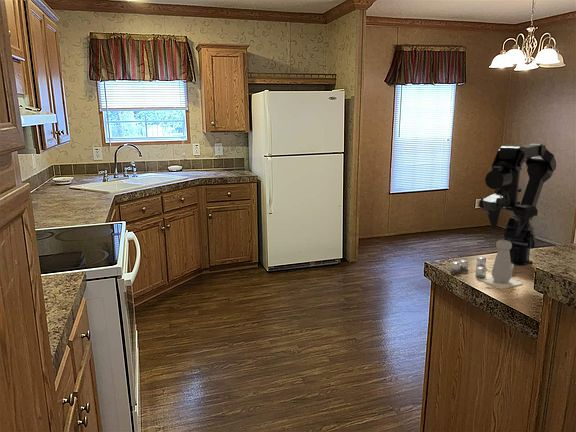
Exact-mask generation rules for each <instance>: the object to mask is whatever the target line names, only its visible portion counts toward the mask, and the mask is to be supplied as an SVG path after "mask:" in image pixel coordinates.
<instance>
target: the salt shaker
mask: <svg viewBox="0 0 576 432" xmlns="http://www.w3.org/2000/svg"><path fill="white" fill-rule="evenodd" d="M495 247H496V248H497V253H496V255H495V260H494V263H493V267H492V269H491V276H492V277H493V279H494V282H497V283H503V284H506V283H508V282H509V281H510V279H512V277H513V274H512V268H511V259H510V251H509V249H511V248H512V243H511V242H510V241H507V240H505V239H499V240H498V241H496V243H495Z"/></svg>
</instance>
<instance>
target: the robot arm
mask: <svg viewBox="0 0 576 432" xmlns="http://www.w3.org/2000/svg"><path fill="white" fill-rule="evenodd" d="M524 163H525V166H526V167H527V168H526V172H527V175H528V181H527V183H526V186H525V190H524V192H523V195H522V197H521V198H522V199H521V201H518V198H519V197H518V195H519V193H522V188H519V183H520V173H521V171H522V165H524ZM491 169H492V170H491V171H489V172H488V173H487V174H486V176H485V178H484V182H485V185H486V186H487V187H488V188H489V189H492V190H494V193H493V194H490V195H488V196H487V197H484V198H480V200H479V202H478V208H481V210H482V211H483V212H485V213H486V214H487V217H488V220H489V224H490V227H491V230H492V231H493V230H494V231H495V230H496V228H497V226H498V221H499V218H500V213H501V210H506V211H511V212H513V214H514V215H512V217H509V219H508V222H507V225H506V227H504V228H505V229H504V231H503V236H504V237H503V239H504V240H507V241H510V242H511V243H512V248H511V249H509V251H510V259H511V263H513V264H514V265H518V266H522V265H523V266H524V265H527V264H532V263H533V262H534V261H532V260H530V253H531V249H535V248H536V245H537V237H536V235H535V234H534V225H533V222H532V219H533V218H534V217H537V216H538V210H539V209H538V208H537V204H538V201H539V199H540V195H541V193H542V189H543V186H544V183H546V182H547V181H548V180H549V179H551V178H552V176H553V174H554V172H555V170H557V161H556V158H555V155H554V154H553V153H552V152H551V151H550V150H548V149H547V147H546V145H545V144H543V143H530V144H527V145H522V146H521V145H520V146H519V145H518V146H517V145H516V146H515V145H502V146H500V147H499V149H498V150H497V151H496V154H495V157H494V159H493V161H492V164H491Z"/></svg>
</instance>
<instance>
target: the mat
mask: <svg viewBox="0 0 576 432" xmlns="http://www.w3.org/2000/svg"><path fill="white" fill-rule="evenodd" d="M479 281H480V282H482V283H484V284H487V285H488V286H489V285H490V286H491V287H494V288H497V289H498V290H503V289H504V290H505V289H508V288H514V287H518V286H522V285H524V283H523V282H520V281H519V280H515V279H513V278H511V279H510V281H509V282H508V283H506V284H503V283H497V282H494V279H493V276H492V277H486V278H483V279H482V278H479Z"/></svg>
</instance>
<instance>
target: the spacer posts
mask: <svg viewBox="0 0 576 432" xmlns="http://www.w3.org/2000/svg"><path fill="white" fill-rule="evenodd" d="M475 265H476V267H475V278H477V279H486V278H487V277H486V275H487V268H486V267H487V257H485V256H476V264H475ZM511 268H512V275H513V274H514V269H515V264H514V263H511ZM468 270H469V261H468V260H467V259H459V260H458V261H451V262H450V273H454V274H460V273H461V272H467V271H468Z"/></svg>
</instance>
